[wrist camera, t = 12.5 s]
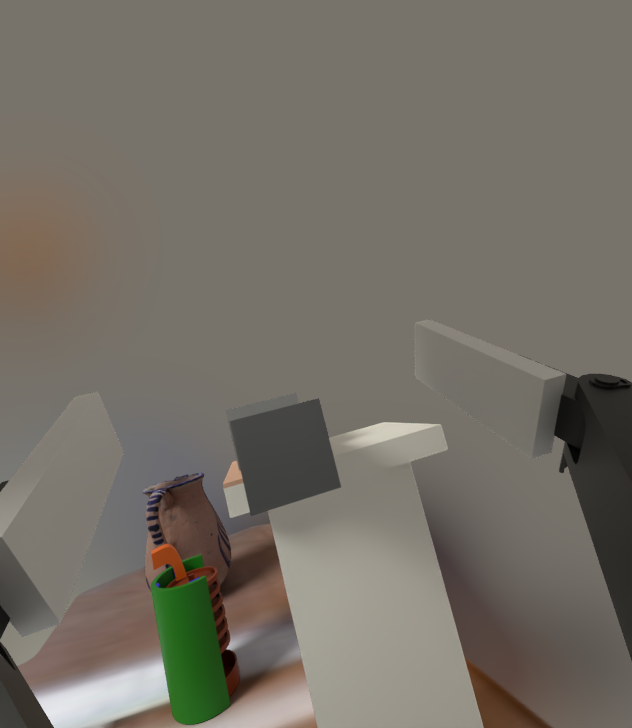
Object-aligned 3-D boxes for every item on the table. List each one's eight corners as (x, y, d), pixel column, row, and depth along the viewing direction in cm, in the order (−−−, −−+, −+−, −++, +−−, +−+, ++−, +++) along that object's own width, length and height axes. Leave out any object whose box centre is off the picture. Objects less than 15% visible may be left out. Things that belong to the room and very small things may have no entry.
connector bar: (226, 523, 14) (200, 404, 14) (242, 459, 35) (231, 411, 36) (362, 480, 15) (334, 372, 16) (297, 443, 36) (286, 398, 37)
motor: (253, 687, 45) (220, 533, 47) (184, 743, 39) (150, 565, 41) (224, 654, 53) (197, 523, 55) (164, 696, 47) (136, 549, 49)
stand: (334, 996, 20) (222, 484, 23) (304, 784, 32) (232, 461, 35) (563, 846, 24) (439, 420, 27) (461, 705, 35) (383, 419, 39)
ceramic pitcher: (239, 564, 84) (217, 463, 86) (233, 613, 63) (204, 478, 66) (165, 589, 80) (145, 483, 83) (133, 649, 60) (107, 506, 63)
